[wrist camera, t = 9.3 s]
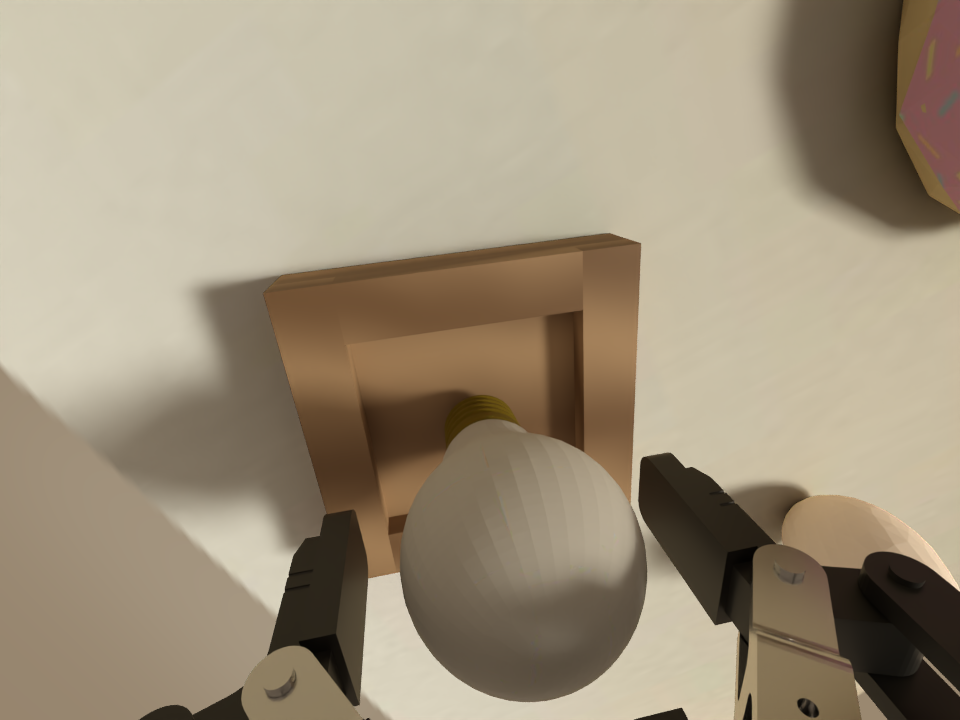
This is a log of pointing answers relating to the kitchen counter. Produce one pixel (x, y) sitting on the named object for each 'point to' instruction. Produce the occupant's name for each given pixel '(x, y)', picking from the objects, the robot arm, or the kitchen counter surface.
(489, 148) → the kitchen counter surface
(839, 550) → the egg
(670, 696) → the kitchen counter surface
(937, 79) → the donut
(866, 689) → the robot arm
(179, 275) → the kitchen counter surface
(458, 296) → the base
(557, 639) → the light bulb
